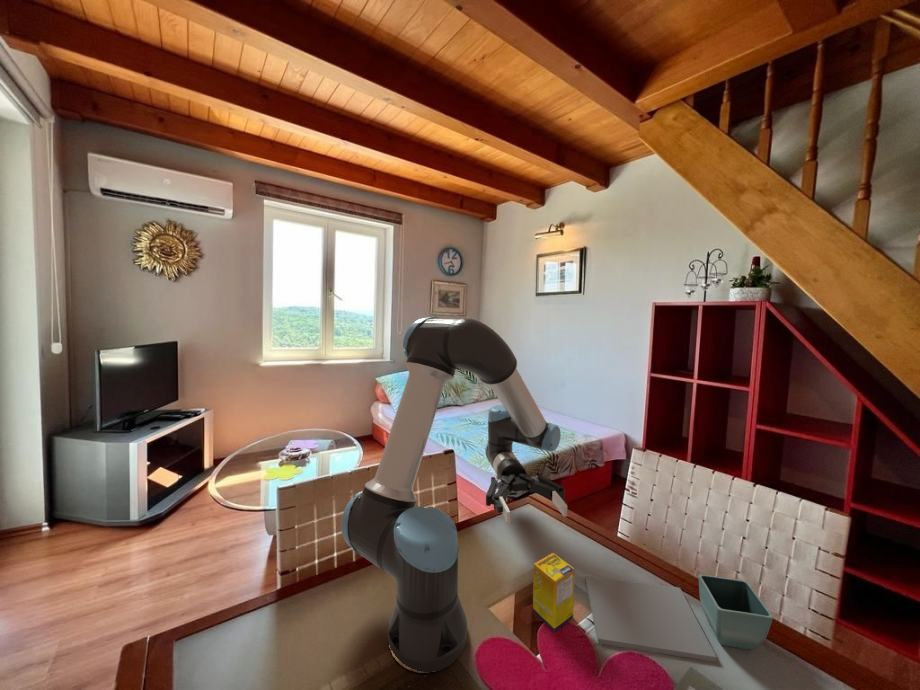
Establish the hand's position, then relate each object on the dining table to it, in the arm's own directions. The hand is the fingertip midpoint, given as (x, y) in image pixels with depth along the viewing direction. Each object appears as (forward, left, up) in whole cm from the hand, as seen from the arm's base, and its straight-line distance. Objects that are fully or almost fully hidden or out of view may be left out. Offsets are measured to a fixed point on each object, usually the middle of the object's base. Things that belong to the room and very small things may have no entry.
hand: (537, 514), depth 83 cm
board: (+21, -6, -16) cm, 27 cm away
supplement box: (+3, -9, -16) cm, 19 cm away
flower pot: (+36, -8, -16) cm, 40 cm away
